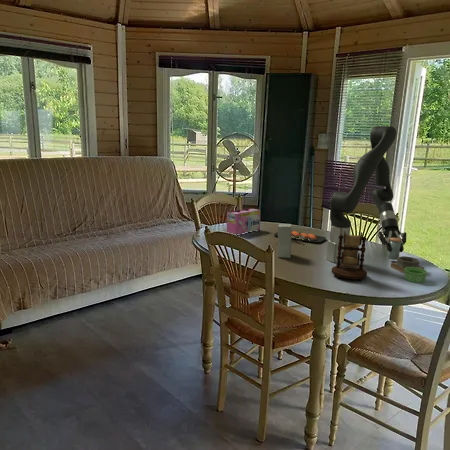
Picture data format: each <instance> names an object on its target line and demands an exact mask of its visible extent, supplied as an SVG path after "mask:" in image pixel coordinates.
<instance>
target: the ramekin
mask: <svg viewBox="0 0 450 450" xmlns="http://www.w3.org/2000/svg"><path fill="white" fill-rule="evenodd" d="M404 271H405V273H404V274H403V275H404V276H403V277H404V280H406V281H408V282H411V283H416V284H417V283H418V284H420V283H421V284H422V283H425V282H426V277H427V274H428V271H427V269H425V268H424V269H421V268H417V267H406V268H404Z"/></svg>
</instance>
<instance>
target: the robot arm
mask: <svg viewBox="0 0 450 450" xmlns="http://www.w3.org/2000/svg"><path fill="white" fill-rule="evenodd" d="M369 135H370V136H369V139H370V140H369V141H370V145H371V149H370V150H369V151H368V152H366V153H364V154H363V155H362V156H361V157H360V158H359V159H358V161H357V162H356V164H355V166H354V167H353V169H352V178H353V179H352V180H353V185H352V187H351V189H350V191H349V193H348V192H344V191H343V192H342V191H336V192H334V193H333V194H332V196H331V199H330V203H329V204H330V205H329V206H330V208H329V209H330V212H329V219H330V230H329V239H328V240H327V243H326V244H327V245H326V247H327V248H326V254H325V255H326V256H325V260H328V261H330V263H333V264H334V263H336V264H337V262H338V261H337V256H338V245H339V244H338V243H339V235H343V237H344V231H345V232H346V235H351V227H352V221H351V220H350V219H349V218H348V217H347V216H346V215H345V214H351V213H352V212H354V211H355V209H356V208H357V206H358V203H359V202H360V199H361V197H362V195H363V193H364V192H365V189H366V187H367V185H368V183H369V181H370V179H371V178H372V177H373V176H374V180H375V181H374V182H375V185H377V186H381V187H382V186H383V187H384V188H377V189H374V190H373V191H372V192H371V199H372V201H373V203H374V204H375V206H376V208H377V210H378V213H379V220H380V224H381V228H382V231H379V232H378V233H377V236H378V239H379V241H380V243H381V244H382V245H385V246H386V250H387V251H388V252H391V251H392V248H391V244H390V238H391V237H397V238H401V239H402V242H401V247H400V253H403V252H404V250H405V248H404V245H405V244H406V243H407V232H405V231H404V232H401V231H400V229H399V224H398V220H397V216H396V213H395V210H394V206H393V204H392V202H391V201H392V200H393V199H394V193H393V189H392V186H391V180H390V173H391V172H390V167H389V163H388V162H387V160H386V158H385V157H384V156H385V155H386V153H387V152H388V151H389V149H390V147H392V145H393V144H394V142H395V140H396V137H397V130H396V128H395V127H394V126H392V125H391V126H389V125H375V126H374V127H372V128H371V130H370V134H369ZM344 213H345V214H344ZM341 246H343V247H344V243H343V239H342V245H341ZM343 251H344V249H342V251H341V255H342V252H343ZM341 255H340V256H341ZM340 264H341V260H340Z"/></svg>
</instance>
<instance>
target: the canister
mask: <svg viewBox="0 0 450 450" xmlns="http://www.w3.org/2000/svg"><path fill="white" fill-rule="evenodd" d="M401 242H402V237H401V238H397V237H391V238H390V244H391V248H392V251H391V252H389V251H388V253H387V259H390V260H393V261H394V260H395V261H397V259H398V257H400V253H401V252H400V247H401Z"/></svg>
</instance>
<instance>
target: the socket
mask: <svg viewBox="0 0 450 450" xmlns="http://www.w3.org/2000/svg"><path fill="white" fill-rule="evenodd" d="M406 267H417V268H421V269H424V270H425V267H422V266H420V259H418V258H415V257H413V256H405V255H404V256H403V255H402V256H399V257H398V259H397V260H396V262H391V263H390V268H392V269H393V270H395V271H398V272H400V273H402V274H405V271H404V268H406Z"/></svg>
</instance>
